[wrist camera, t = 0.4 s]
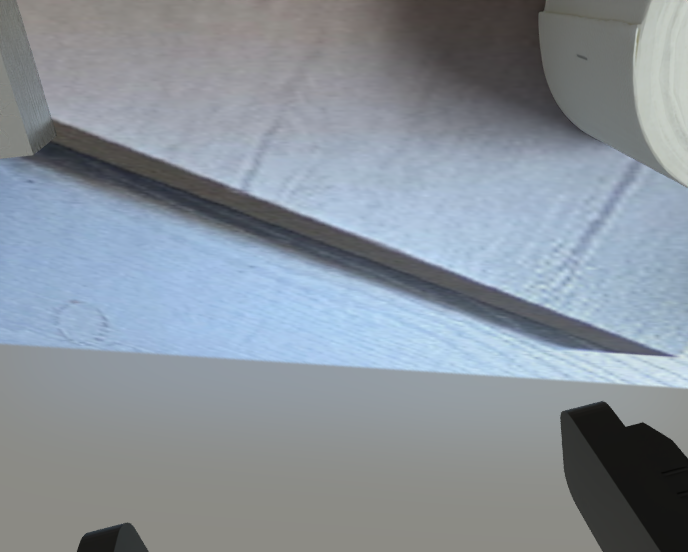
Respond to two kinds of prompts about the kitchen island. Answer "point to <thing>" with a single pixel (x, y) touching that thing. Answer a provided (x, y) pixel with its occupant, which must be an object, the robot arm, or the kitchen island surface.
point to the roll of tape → (622, 75)
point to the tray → (20, 90)
